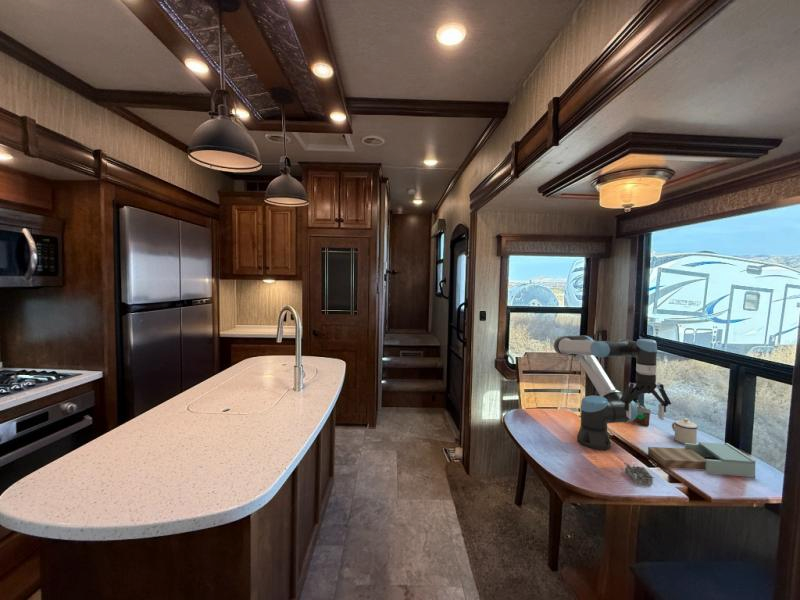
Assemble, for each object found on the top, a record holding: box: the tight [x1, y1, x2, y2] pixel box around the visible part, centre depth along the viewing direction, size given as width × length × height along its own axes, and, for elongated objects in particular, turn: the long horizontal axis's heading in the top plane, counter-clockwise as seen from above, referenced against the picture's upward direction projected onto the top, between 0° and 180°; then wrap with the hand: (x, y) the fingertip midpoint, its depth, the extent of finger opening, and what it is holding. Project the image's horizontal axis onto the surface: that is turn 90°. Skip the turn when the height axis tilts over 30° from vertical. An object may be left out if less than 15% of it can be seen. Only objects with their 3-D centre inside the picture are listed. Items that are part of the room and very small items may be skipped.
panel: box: [647, 446, 707, 471], centre depth 154 cm, size 18×12×4 cm, turn 83°
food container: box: [633, 402, 652, 427], centre depth 197 cm, size 12×6×10 cm, turn 172°
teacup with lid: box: [671, 417, 699, 445], centre depth 175 cm, size 12×9×12 cm
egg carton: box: [623, 462, 655, 486], centre depth 142 cm, size 11×8×4 cm
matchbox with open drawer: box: [684, 441, 757, 478], centre depth 151 cm, size 17×16×7 cm
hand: (644, 418), depth 157 cm, fingers open, 13 cm apart
